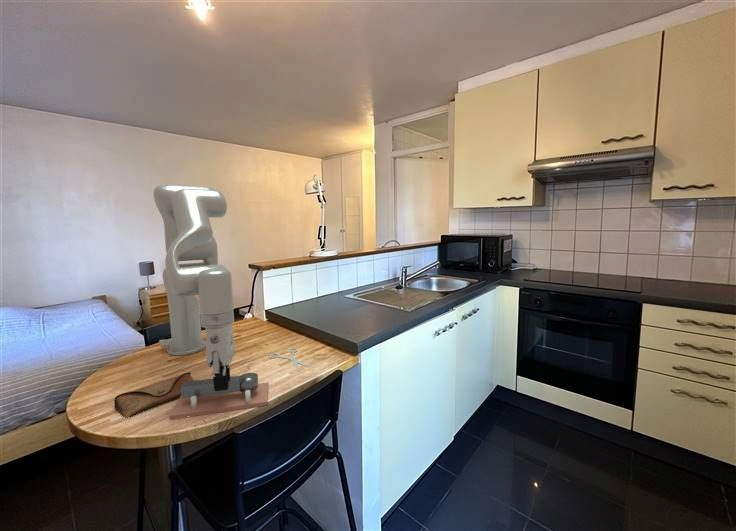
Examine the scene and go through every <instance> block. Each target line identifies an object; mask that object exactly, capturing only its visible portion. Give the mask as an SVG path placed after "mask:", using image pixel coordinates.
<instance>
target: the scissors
mask: <svg viewBox="0 0 736 531" xmlns="http://www.w3.org/2000/svg"><path fill="white" fill-rule="evenodd" d="M291 349H292V350H294V351H292V350H291ZM289 352H290V354H292V355H291V356H290V357H288V356H287V357H286V356H281V353H272V354H269V353H265V354H264V356H267V355H268V356H267V357H269V358H270V357H271V358H270V359H282V360H283V359H286V360H289V361H291V362H292V364H294V366H295V367H296V368H297V370H299V372H302V370H301V368H300V366H299V364H300V365H303V366H306V367H308V368H313V367H312V366H309V365H307V364H306V363H304V362H301V361H299V360H298V359H296V357H295V353H296V352H298V348H295V347H294V348H293V347H291V348H290V349H288V353H289Z"/></svg>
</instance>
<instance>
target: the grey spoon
mask: <svg viewBox="0 0 736 531" xmlns="http://www.w3.org/2000/svg"><path fill="white" fill-rule="evenodd" d="M258 375H259V374H257V373H255V372H246V373H243V374H241V375H232V376H231V375H230V377H228V389H227V390H221V391H214V382H213V378H206V379H198V380H197V379H196V380H193V381H187V382H184V383H183V384H182V386H181V399H183V398H191V397H192V396H196V397H199V396H207V395H215V394H223V393H231V392H239V391H240V392H245V391H246V390H250V392H251V391H254V390H256V389H257V388H258V384H259V376H258Z"/></svg>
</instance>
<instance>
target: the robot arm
mask: <svg viewBox="0 0 736 531" xmlns="http://www.w3.org/2000/svg"><path fill="white" fill-rule="evenodd" d="M153 200H154V204H155V206H156V208H157V210H158V212H159V214H160V215H161V218H162V221H163V227H164V228H163V230H164V241H165V242H164V243H165V251H166V254H165V260H164V261H165V262H164V263H165V268H164V269H163V271H162V281H163V283H164V288H165V292H166V297H167V298H166V299H167V306H168V313H169V325H170V326H169V327H170V335H171V336H170V337H171V338H168V339H159V341H158V345H159V346H160V348H161V347H168V348H167V350H166V351H167V354H169V355H171V356H187V355H191V354H194V353H198V352H201V351H202V350H204V349H205V350H206V351H205V352H206V362H207V366H208V367H209V368H212V379H213V382H214V391H221V390H227V389H228V377H231V368H230V364H231V362H232V360H233V357H234V355H235V341H234V334H233V333H234V331H233V326H232V324H234V322H235V315H234V300H233V299H234V298H233V285H232V284H233V281H232V273H231V272H230V270H228V269H227V267H226V266H224V265H223V264H219V261H218V259H219V258H218V257H219V254H218V245H217V244H218V243H217V241H216V238H215V236H213V235H214V234H213V233H214V232H213V227H212V224H211V221H210V218H223V217H224V216H226V214H227V210H228V204H227V200H226V197H225V196H224V194H223V193H222V192H221V191H220V190H218V189H217V188H214V187H211V186H202V185H201V186H199V185H188V184H187V185H185V184H172V183H171V184H170V183H169V184H159V185H157V186H156V187H155V188H154V190H153ZM190 261H191V262H190ZM192 261H202V262H192ZM179 262H186V263H179ZM187 262H188V263H187ZM196 295H197V296H198V297H196ZM202 328H204V329H205V339H203V338H202V337H203V336H202Z"/></svg>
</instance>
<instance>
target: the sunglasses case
mask: <svg viewBox="0 0 736 531" xmlns="http://www.w3.org/2000/svg"><path fill="white" fill-rule="evenodd" d="M187 381H194V379H193V376H192V374H191V372H189V371H188V372H185V373H182V374H180V375H177V376H174V377H171V378H167V379H165V380H162V381H158V382H155V383H153V384H150V385H146V386H144V387H141V388H137V389H135V390H132V391H126V392H122V393H120V394H118V395H117V396H115V398H114V400H113V402H114V409H116V411H117V412H118V413H120V414H121V415H122V416H123V417H125V418H128V417H130V418H132V417H134V416H133V415H135V416H137V415H138V413H139V414H142V413H144V412H147V411H149V410H152V409H154V408H157V407H159V405H160V406H162V405H164V404H167V403H170V402H173V401H175V400H179V398H180V396H181V386H182V384H183V383H184V382H187ZM151 408H152V409H151ZM148 409H149V410H148ZM146 410H147V411H146ZM143 411H144V412H143ZM141 412H142V413H141ZM120 414H119V415H120ZM136 414H137V415H136ZM121 415H120V416H121ZM122 416H121V417H122ZM131 416H132V417H131ZM123 417H122V418H123ZM128 419H129V418H128Z"/></svg>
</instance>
